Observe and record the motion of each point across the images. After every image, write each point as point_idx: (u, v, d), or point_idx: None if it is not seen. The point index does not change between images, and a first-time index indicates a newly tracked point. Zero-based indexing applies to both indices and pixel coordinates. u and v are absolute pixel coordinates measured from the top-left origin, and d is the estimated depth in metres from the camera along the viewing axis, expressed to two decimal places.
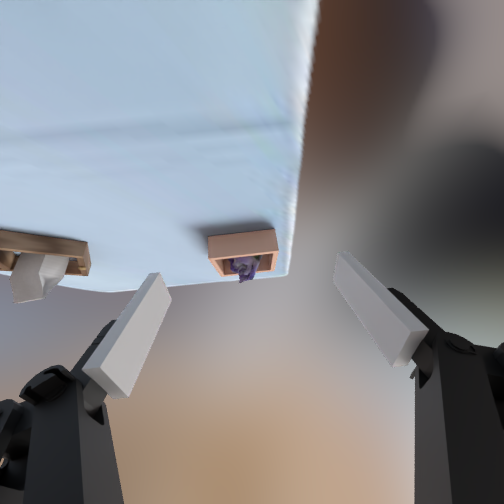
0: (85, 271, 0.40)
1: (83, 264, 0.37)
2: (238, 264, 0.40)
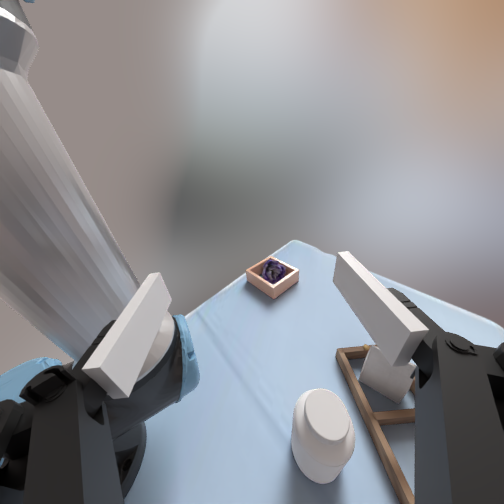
0: None
1: (356, 347, 0.41)
2: (269, 272, 0.64)
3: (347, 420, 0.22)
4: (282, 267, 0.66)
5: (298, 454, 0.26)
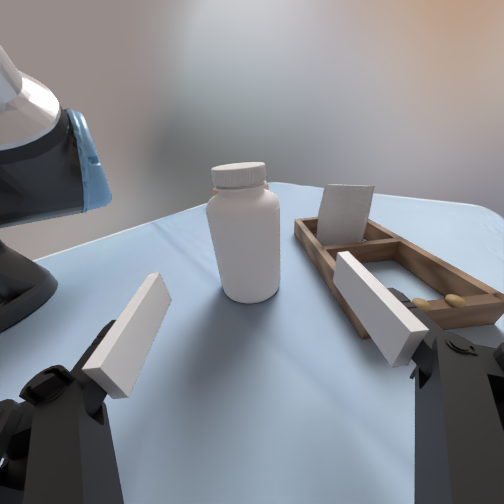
0: None
1: (315, 217, 0.36)
2: None
3: (261, 164, 0.17)
4: None
5: (217, 257, 0.21)
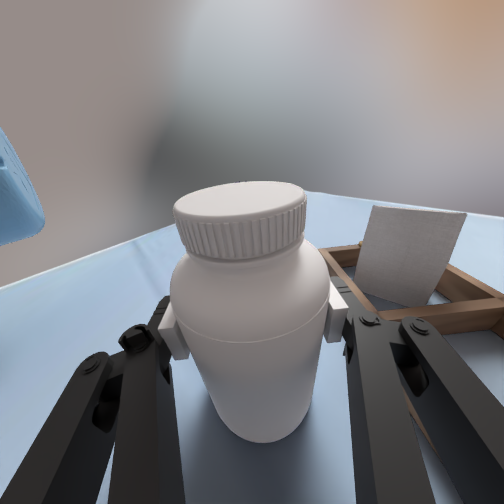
0: None
1: (347, 246, 0.26)
2: None
3: (298, 193, 0.07)
4: None
5: None
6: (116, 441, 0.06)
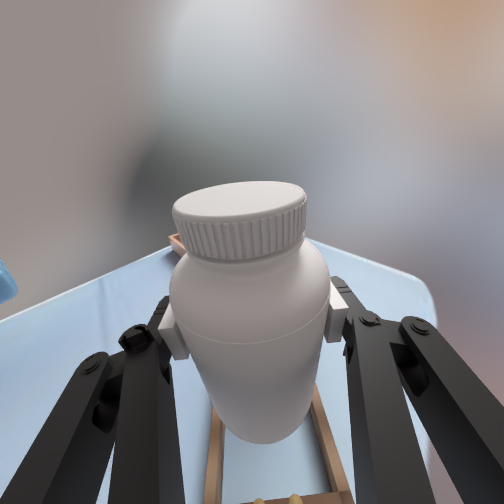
0: None
1: None
2: None
3: (298, 193, 0.07)
4: None
5: None
6: (116, 441, 0.06)
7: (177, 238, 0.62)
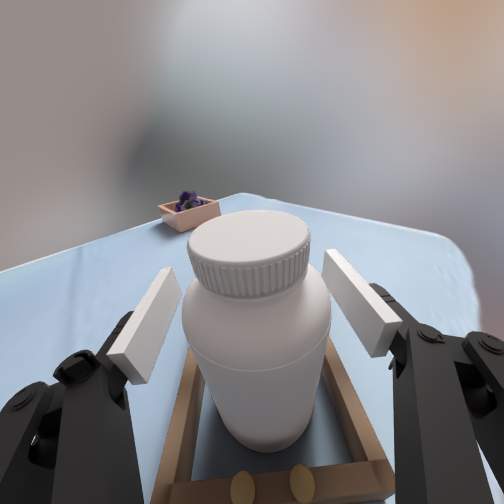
0: None
1: None
2: (183, 204, 0.53)
3: (303, 233, 0.07)
4: (202, 201, 0.55)
5: None
6: (54, 488, 0.05)
7: (167, 208, 0.56)
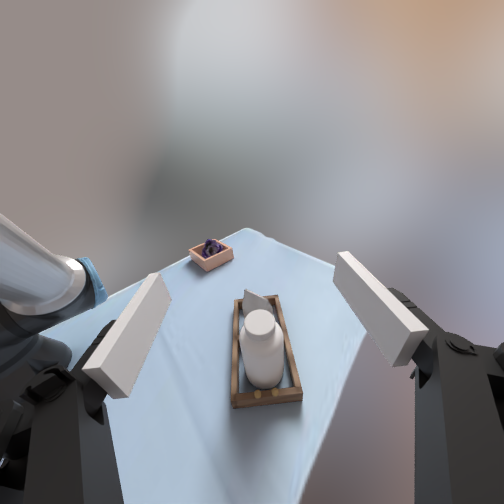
0: (265, 296, 0.52)
1: None
2: (207, 249, 0.75)
3: (273, 324, 0.30)
4: (220, 246, 0.77)
5: (244, 363, 0.34)
6: None
7: (195, 250, 0.79)
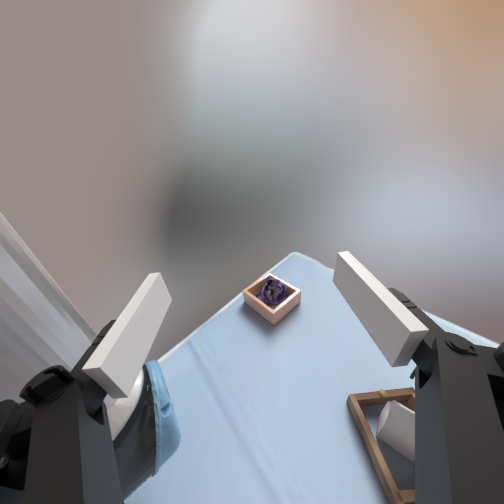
0: (396, 390, 0.35)
1: (370, 393, 0.35)
2: (269, 291, 0.59)
3: None
4: (283, 286, 0.61)
5: None
6: None
7: (250, 291, 0.62)
